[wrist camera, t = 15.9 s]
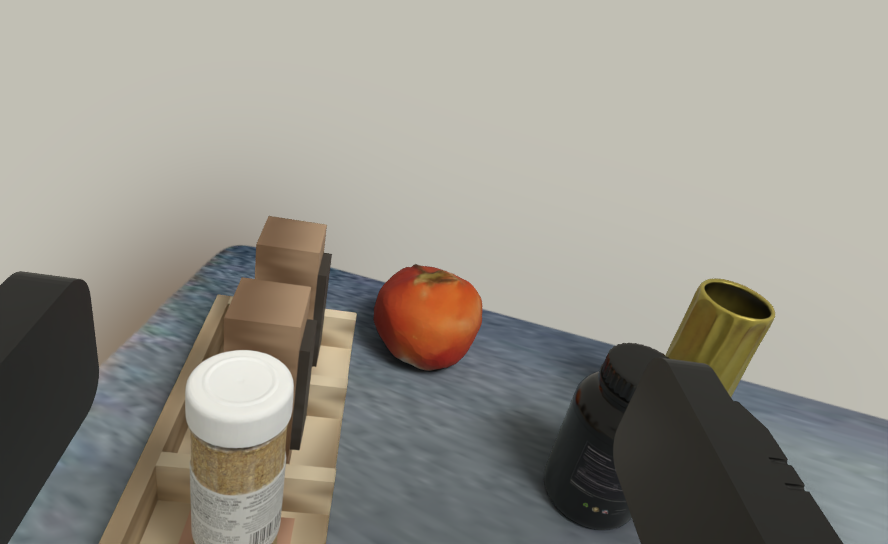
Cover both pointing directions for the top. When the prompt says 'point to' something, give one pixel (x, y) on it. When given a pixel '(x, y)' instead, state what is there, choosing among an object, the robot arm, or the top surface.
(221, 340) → the rail rack
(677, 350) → the vase
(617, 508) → the supplement bottle
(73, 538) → the top surface
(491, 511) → the top surface
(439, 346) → the tomato
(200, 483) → the spice jar
